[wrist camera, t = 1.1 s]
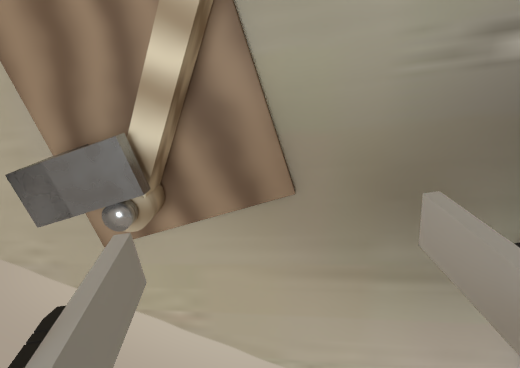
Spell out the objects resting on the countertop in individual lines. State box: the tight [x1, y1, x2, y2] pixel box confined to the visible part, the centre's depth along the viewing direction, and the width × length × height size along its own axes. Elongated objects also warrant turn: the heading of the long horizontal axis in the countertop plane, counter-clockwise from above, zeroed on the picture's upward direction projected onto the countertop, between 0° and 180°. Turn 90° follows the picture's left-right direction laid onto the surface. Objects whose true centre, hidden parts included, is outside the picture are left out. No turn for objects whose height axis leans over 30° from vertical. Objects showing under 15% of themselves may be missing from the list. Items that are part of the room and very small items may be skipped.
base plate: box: [0, 0, 295, 247], centre depth 33 cm, size 24×30×1 cm
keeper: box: [5, 133, 151, 227], centre depth 32 cm, size 12×6×7 cm, turn 109°
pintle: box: [102, 200, 138, 232], centre depth 31 cm, size 3×3×2 cm
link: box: [101, 0, 213, 232], centre depth 31 cm, size 24×5×4 cm, turn 159°
